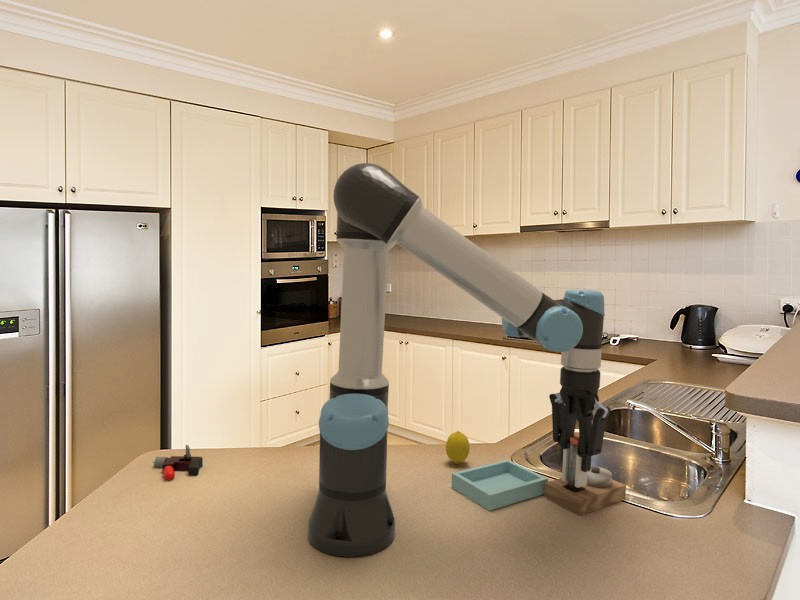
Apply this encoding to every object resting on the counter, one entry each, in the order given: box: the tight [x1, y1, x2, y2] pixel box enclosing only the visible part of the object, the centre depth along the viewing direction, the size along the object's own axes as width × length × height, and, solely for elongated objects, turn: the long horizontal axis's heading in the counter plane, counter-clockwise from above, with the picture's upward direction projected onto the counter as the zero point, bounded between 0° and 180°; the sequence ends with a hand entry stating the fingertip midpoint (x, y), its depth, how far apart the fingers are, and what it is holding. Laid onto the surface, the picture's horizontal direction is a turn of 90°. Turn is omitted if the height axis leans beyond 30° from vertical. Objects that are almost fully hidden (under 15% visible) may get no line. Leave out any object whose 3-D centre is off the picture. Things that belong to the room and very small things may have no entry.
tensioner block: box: [543, 465, 627, 516], centre depth 110 cm, size 14×9×6 cm, turn 122°
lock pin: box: [567, 434, 581, 493], centre depth 107 cm, size 3×3×14 cm
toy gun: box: [151, 444, 204, 482], centre depth 117 cm, size 10×12×5 cm
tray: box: [451, 459, 549, 511], centre depth 113 cm, size 16×12×3 cm
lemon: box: [445, 430, 470, 465], centre depth 126 cm, size 6×6×8 cm
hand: (574, 482), depth 108 cm, fingers closed on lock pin, 2 cm apart
